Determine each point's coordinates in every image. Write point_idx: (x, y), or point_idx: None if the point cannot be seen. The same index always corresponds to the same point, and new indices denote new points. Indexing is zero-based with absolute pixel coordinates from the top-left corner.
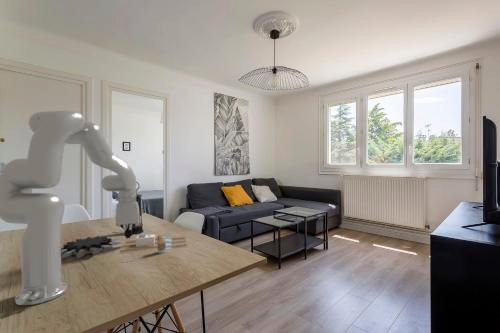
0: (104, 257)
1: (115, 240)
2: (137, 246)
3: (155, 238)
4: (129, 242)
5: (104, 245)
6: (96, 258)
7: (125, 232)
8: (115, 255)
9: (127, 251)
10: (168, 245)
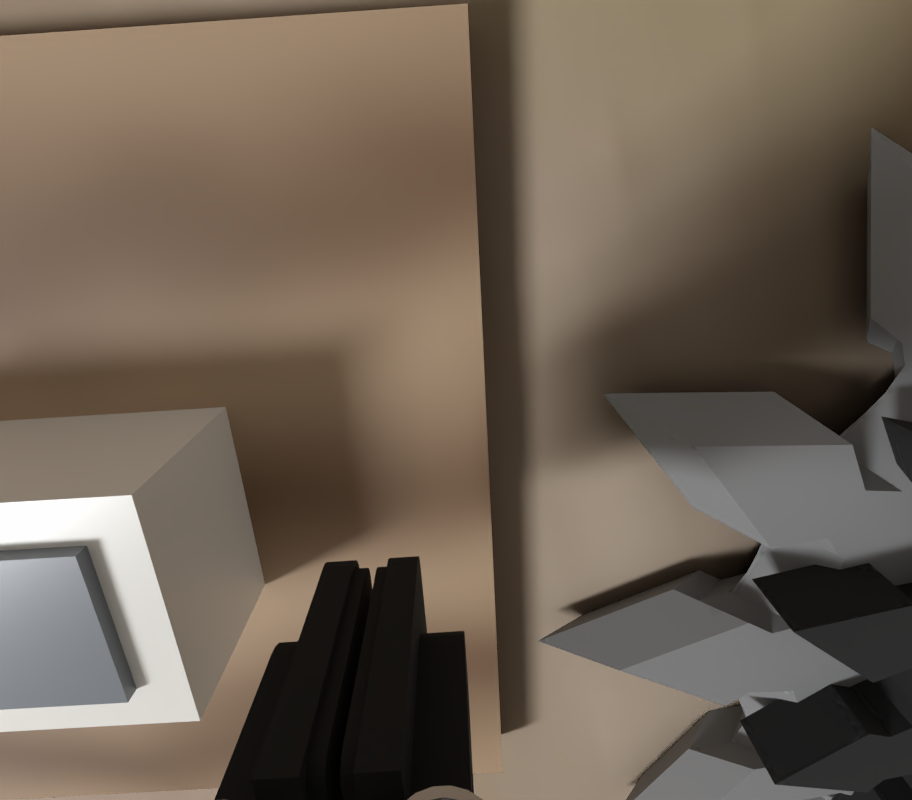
0: (746, 34)
1: (683, 790)
2: (196, 409)
3: (49, 777)
4: None
5: (843, 536)
6: (896, 9)
7: (439, 725)
8: (549, 114)
9: (309, 124)
10: None
